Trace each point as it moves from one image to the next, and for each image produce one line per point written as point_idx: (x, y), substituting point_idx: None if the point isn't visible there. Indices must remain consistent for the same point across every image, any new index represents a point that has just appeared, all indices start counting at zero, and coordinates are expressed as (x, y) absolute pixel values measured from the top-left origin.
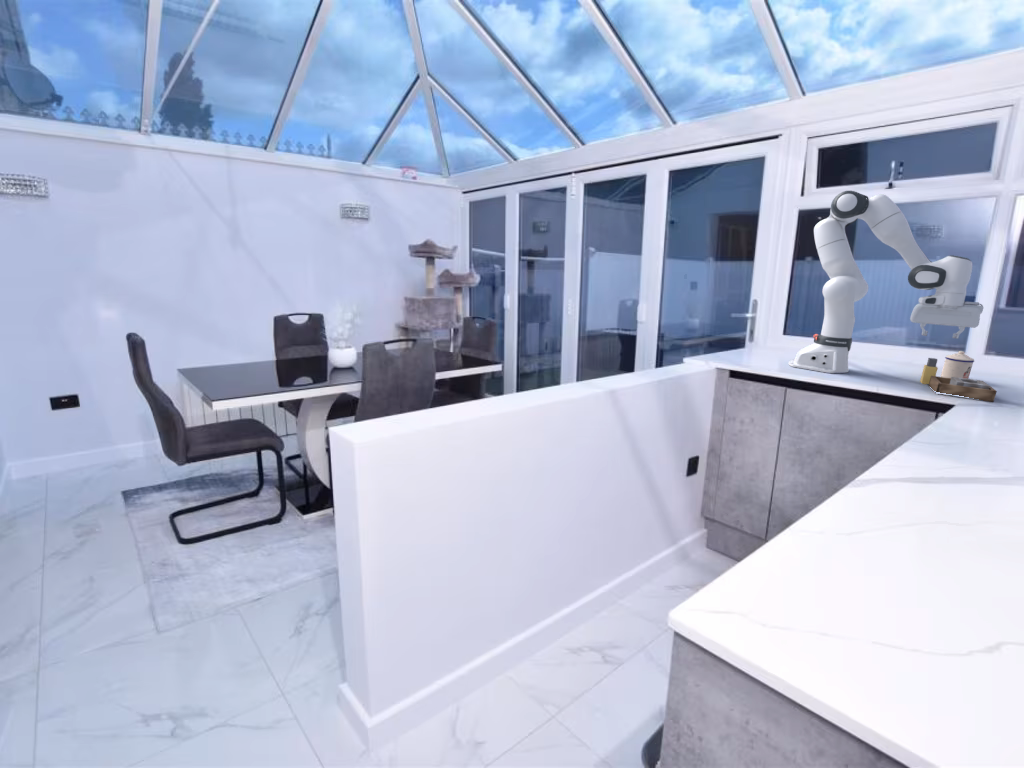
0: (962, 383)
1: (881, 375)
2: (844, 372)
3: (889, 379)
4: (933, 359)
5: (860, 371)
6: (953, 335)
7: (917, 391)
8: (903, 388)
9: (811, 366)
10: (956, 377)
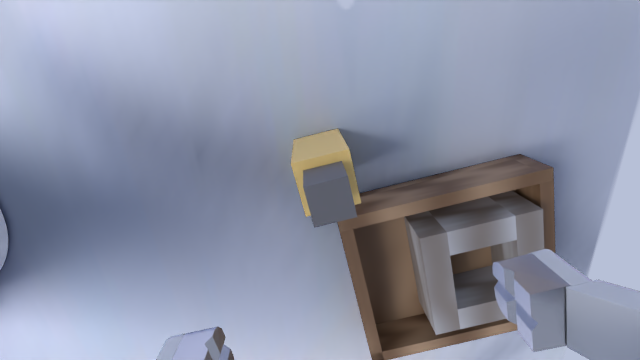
0: (452, 327)
1: (129, 142)
2: (6, 255)
3: (184, 209)
4: (334, 221)
5: (24, 130)
6: (515, 288)
7: (311, 339)
8: (266, 333)
9: None
10: (439, 236)
